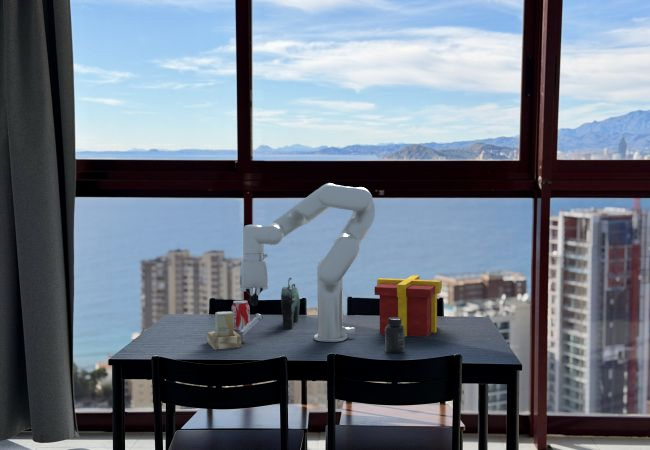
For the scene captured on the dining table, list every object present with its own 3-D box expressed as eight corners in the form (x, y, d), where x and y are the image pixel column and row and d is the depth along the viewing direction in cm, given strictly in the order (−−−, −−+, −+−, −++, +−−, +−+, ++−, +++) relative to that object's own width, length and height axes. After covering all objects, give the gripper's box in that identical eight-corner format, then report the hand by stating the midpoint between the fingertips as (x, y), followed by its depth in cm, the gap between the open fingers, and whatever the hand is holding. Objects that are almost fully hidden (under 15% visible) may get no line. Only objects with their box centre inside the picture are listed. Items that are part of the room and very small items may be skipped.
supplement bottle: (403, 349, 310) (403, 316, 309) (405, 353, 303) (405, 320, 302) (384, 349, 309) (384, 316, 308) (386, 354, 303) (386, 320, 302)
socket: (233, 340, 327) (233, 330, 326) (241, 347, 315) (241, 336, 315) (207, 342, 323) (207, 332, 323) (214, 349, 312) (214, 338, 312)
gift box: (433, 339, 325) (433, 286, 323) (369, 335, 333) (369, 283, 332) (446, 326, 349) (446, 276, 347) (386, 322, 357) (386, 274, 355)
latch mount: (239, 339, 328) (239, 329, 328) (243, 342, 322) (243, 332, 322) (232, 340, 327) (231, 329, 327) (236, 343, 321) (235, 332, 321)
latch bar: (261, 316, 329) (257, 312, 328) (263, 317, 326) (260, 314, 325) (240, 336, 327) (236, 332, 326) (242, 338, 323) (239, 334, 323)
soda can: (247, 333, 339) (246, 303, 338) (229, 332, 340) (229, 302, 339) (252, 329, 346) (251, 300, 345) (235, 329, 347) (234, 299, 346)
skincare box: (217, 346, 316) (216, 314, 315) (215, 344, 320) (214, 312, 319) (234, 345, 318) (234, 312, 317) (231, 342, 322) (231, 310, 321)
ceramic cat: (293, 330, 344) (292, 280, 342) (277, 329, 345) (276, 280, 343) (302, 320, 364) (301, 273, 362) (287, 319, 365) (286, 273, 363)
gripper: (269, 255, 330) (270, 302, 332) (231, 257, 325) (232, 305, 327) (275, 257, 323) (275, 305, 325) (236, 259, 318) (237, 308, 320)
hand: (254, 305), depth 326 cm, fingers closed
